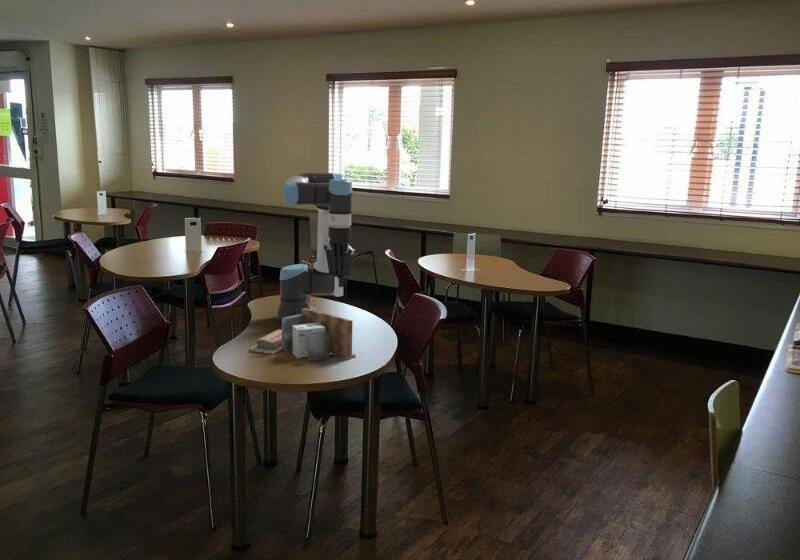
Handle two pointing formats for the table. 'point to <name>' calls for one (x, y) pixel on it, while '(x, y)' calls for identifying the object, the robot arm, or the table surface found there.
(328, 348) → the bookend
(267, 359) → the table surface
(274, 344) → the packaged product
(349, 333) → the rack
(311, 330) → the light bulb box
